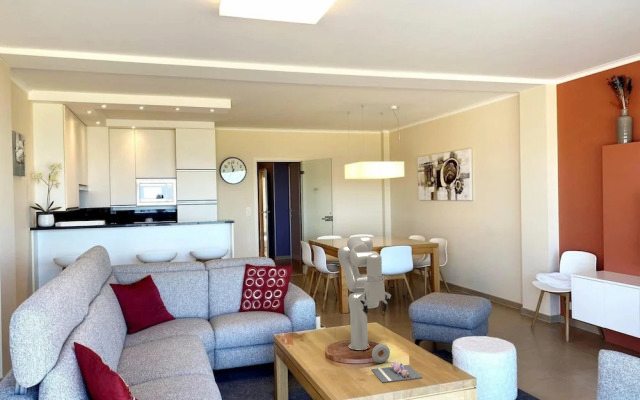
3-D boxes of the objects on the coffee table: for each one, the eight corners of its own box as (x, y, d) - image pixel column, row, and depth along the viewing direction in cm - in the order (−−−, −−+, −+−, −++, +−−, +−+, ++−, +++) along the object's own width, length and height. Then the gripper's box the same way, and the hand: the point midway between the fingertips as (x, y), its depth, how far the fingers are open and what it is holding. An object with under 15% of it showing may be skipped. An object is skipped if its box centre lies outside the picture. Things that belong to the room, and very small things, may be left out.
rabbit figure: (413, 379, 227) (396, 364, 241) (414, 368, 226) (396, 353, 240) (402, 382, 225) (385, 366, 238) (403, 370, 224) (386, 355, 237)
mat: (371, 370, 239) (371, 368, 239) (408, 365, 243) (408, 364, 243) (382, 383, 223) (382, 381, 223) (422, 378, 227) (422, 376, 227)
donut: (373, 365, 245) (373, 346, 245) (370, 363, 248) (370, 344, 248) (391, 362, 248) (390, 343, 248) (388, 360, 251) (387, 341, 251)
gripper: (387, 275, 248) (388, 308, 249) (355, 278, 244) (356, 311, 245) (393, 279, 241) (393, 312, 242) (360, 281, 237) (361, 315, 238)
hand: (375, 311), depth 243 cm, fingers open, 9 cm apart
